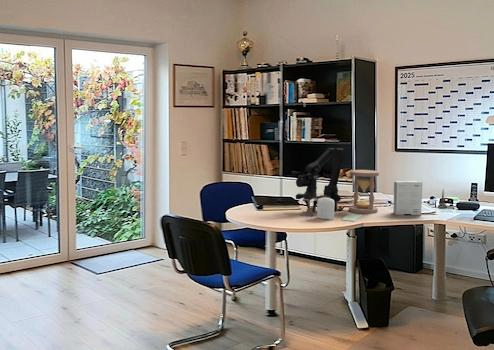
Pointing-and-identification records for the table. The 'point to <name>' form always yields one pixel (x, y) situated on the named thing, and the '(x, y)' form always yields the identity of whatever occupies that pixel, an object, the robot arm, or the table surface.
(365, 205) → the hourglass
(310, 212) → the turner
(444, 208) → the eiffel tower figurine
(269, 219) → the table surface
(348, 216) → the mat
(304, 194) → the robot arm
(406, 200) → the hard drive box
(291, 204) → the table surface
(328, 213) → the photo printer
